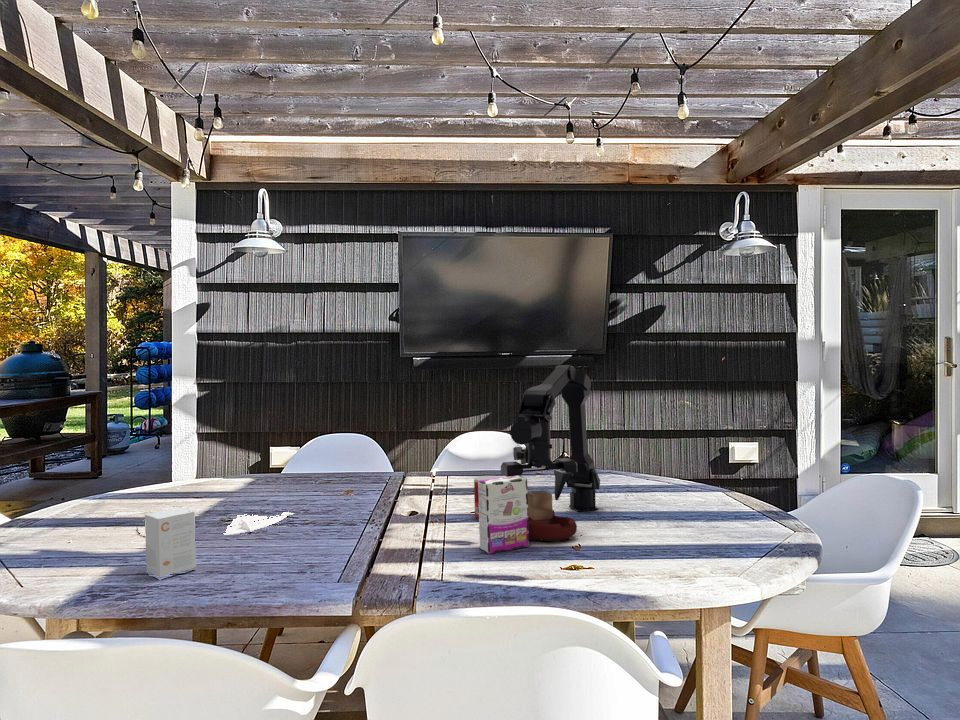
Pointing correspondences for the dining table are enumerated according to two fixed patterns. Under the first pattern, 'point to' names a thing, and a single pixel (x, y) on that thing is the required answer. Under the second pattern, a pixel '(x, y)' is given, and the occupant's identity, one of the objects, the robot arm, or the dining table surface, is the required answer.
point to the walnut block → (539, 505)
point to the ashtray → (552, 528)
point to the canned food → (477, 491)
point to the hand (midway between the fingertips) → (539, 501)
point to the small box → (170, 541)
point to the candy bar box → (503, 514)
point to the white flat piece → (252, 523)
